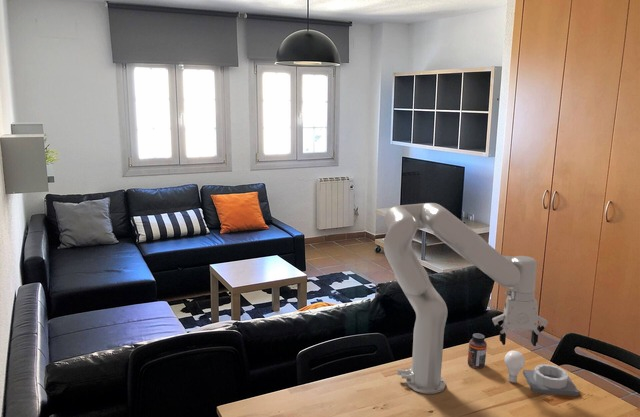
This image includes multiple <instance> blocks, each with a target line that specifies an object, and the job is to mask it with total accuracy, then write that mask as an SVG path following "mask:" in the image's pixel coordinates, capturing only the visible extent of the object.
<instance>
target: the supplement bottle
mask: <svg viewBox="0 0 640 417" xmlns="http://www.w3.org/2000/svg"><path fill="white" fill-rule="evenodd" d="M487 344H488V343H487V342H486V340H485V335H484V334H482V333H479V332H478V333H476V332H475V333H473V334H472V337H471V339H470V340H469V342H468V353H467V365H468V366H469V367H471V368H474V369H482V368H484V367H485V366H486V357H487V346H488V345H487Z"/></svg>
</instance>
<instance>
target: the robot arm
mask: <svg viewBox="0 0 640 417" xmlns="http://www.w3.org/2000/svg"><path fill="white" fill-rule="evenodd" d="M384 224H385V227H386V228H387V229H388V230H387V231H386V234H385V236H384V239H383V241H384V242H383V252H384V256H385V257H386V259H387V261H388V263H389V265H390V267H391V269H392V271H393V275H394V278H395V280H396V282H397V283H398V285H399V287H400V288H401V290H402V292H403V293H404V295H405V297H406V299H407V300H408V301H409V304H410V305H411V307H412V309H413V310H414V312H415V321H414V327H413V337H412V340H413V342H412V354H411V355H412V356H411V357H412V358H411V359H412V360H411V365H410V366H409V368H406V369H402V368H401V369H400V368H398V369H397V370H396V371H397V373H396V374H397V376H400V377H401V379H404V380H405V379H406V380H405V382H406V385H407V386H408V387H409V388H410V389H411V390H413V391H414V392H417V393H421V394H424V395H426V394H427V395H433V394H434V395H435V394H438V393H440V392H443V390H445V388H446V380H445V379H444V377H442V369H443V368H442V366H443V352H444V351H443V350H444V334H445V327H446V322H447V318H448V307H447V304H446V302H445V300H444V299H443V297H442V296H441V295H440V293H439V292H438V291H437V290H436V288H435V287H434V285H433V283H432V282H431V280H430V278H429V274H428V272H427V270H426V269H425V267H424V266H423V265H422V263H421V262H420V259H419V258H418V256H417V254H416V253H415V251H414V248H413V246H412V242H413V239H414V237H415V235H416V233H417V231H418V230H422V229H426V230H428V231H429V232H430V233H431V234H433V235H434V236H435V237H436V238H437V239H439V240H440V241H441V242H442V243H444V244H445V245H446V246H448V247H449V248H451V249H452V250H453V251H454V252H455V253H457V254H458V255H459V256H461V257H462V258H463V259H464V260H466V261H467V262H469V263H470V264H472V265H474V267H476V268H477V269H479V270H480V271H482V272H483V273H484V274H485V275H487V277H489V278H491V280H493V281H494V282H495V283H497V284H498V285H499V286H501V287H503V288H508V290H504V295H506V296H507V297H506V299H505V303H504V306H503V307H504V308H503V313H502V314H500V315H497V316H494V317H492V319H491V320H492V323H493V325H494V327H495V328H496V330H498V331H499V341H500V342H501V345H502V346H505V345H506V340H507V334H506V332H507V331H508V330H510V331H528V332H529V331H530V332H531V336H530V343H531V345H532V346H533V347H537V343H538V341H539V335H540V334H541V332H543V331H544V330H545V329H546V327H547V326H548V324H549V322H548V320H547V319H545V318H544V317H541V316H540V315H539V309H538V300H537V299H536V298H535V295H536V294H535V291H536V278H537V267H538V266H537V263H538V262H537V260H536V258H534V257H531V256H528V255H517V256H509V255H503V254H501V253H500V252H499V251H497V250H496V249H495V248H494V247H492V245H490V244H489V243H488V242H487V241H486V240H485V239H484V238H483V237H482V236H481V235H480V234H478V233H477V232H476V231H475V230H473V229H472V228H471V227H469V226H468V224H466V223H464V222H463V221H462V220H461V219H459V218H458V217H457V216H456V215H454V214H453V213H452V212H451V211H449V210H448V209H447V208H445V207H444V206H443V205H440V203H439V204H438V203H435V202H425V203H424V202H423V203H413V204H403V205H402V204H401V205H394V206H393V207H392V206H391V207H390V208H389V209H388V210H387V211H386V213H385V215H384ZM500 321H502V322H503V323H502V324H501V325H500V324H499V322H500ZM539 322H540V324H539Z"/></svg>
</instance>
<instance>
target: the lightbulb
mask: <svg viewBox="0 0 640 417" xmlns="http://www.w3.org/2000/svg"><path fill="white" fill-rule="evenodd" d="M503 359H504V364H505V366H506V368H507V371H508V372H507V373H508V376H507V377H508V378H507V379H508V382H510V383H517V380H518V375H519V374H520V371H521V370H523V368H524V366H525V364H526V361H525V360H526V359H525V356H524V355H523V353H521V352H520V351H518V350H513V349H512V350H510V351H507V353H505V356H504V358H503Z"/></svg>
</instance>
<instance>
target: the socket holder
mask: <svg viewBox="0 0 640 417" xmlns="http://www.w3.org/2000/svg"><path fill="white" fill-rule="evenodd" d="M522 374H523V377H524V378H525V381H526V382H527V384H528V385H529V388H530V390H531V392H532V393H533V394H545V395H557V396H558V395H559V396H571V397H572V396H573V397H575V396H576V397H579V395H580V391H579V389H578V388H577V387H576V385H575V384H574V382H573V381H572V379H571V378H570V376H569V373H568V372H567V371H566V370H564V369H563V368H562V367H559V366H556V365H553V364H547V363H546V364H544V363H542V364H538V365H536V366H535V367H534V369H522Z"/></svg>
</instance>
